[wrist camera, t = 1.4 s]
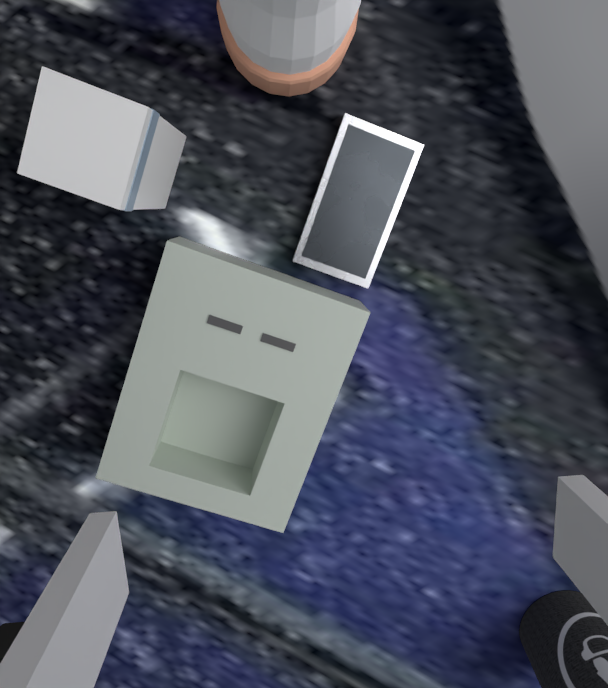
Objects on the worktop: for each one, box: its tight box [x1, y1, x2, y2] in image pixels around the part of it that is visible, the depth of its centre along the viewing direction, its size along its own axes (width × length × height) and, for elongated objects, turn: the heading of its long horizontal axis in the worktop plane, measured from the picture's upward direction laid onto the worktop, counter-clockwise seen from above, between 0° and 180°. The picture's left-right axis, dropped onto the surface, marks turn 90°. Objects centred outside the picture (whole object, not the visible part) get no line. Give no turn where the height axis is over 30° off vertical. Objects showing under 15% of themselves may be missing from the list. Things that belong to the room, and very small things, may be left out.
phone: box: [292, 113, 424, 288], centre depth 33 cm, size 5×9×1 cm, turn 160°
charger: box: [17, 66, 186, 211], centre depth 28 cm, size 4×4×10 cm
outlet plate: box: [96, 237, 370, 533], centre depth 34 cm, size 15×12×4 cm
